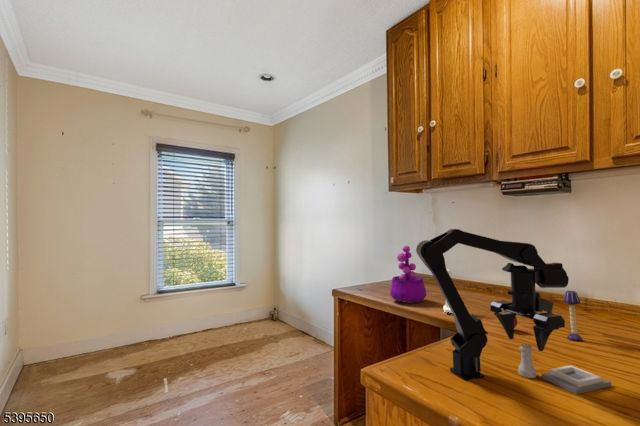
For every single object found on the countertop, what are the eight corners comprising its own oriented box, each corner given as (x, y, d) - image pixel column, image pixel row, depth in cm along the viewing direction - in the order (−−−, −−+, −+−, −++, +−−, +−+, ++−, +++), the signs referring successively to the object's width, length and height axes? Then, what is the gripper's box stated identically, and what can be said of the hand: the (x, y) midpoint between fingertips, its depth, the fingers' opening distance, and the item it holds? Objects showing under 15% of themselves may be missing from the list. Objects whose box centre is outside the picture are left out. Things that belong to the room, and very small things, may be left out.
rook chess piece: (519, 369, 93) (518, 341, 93) (538, 374, 90) (536, 344, 90) (516, 375, 89) (515, 346, 90) (536, 380, 87) (534, 349, 87)
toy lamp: (562, 337, 116) (560, 290, 116) (570, 335, 118) (568, 289, 118) (577, 342, 112) (575, 293, 112) (585, 340, 113) (583, 291, 114)
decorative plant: (408, 308, 161) (406, 247, 162) (383, 300, 177) (381, 245, 178) (434, 302, 171) (432, 245, 172) (408, 296, 187) (406, 243, 188)
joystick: (444, 308, 159) (442, 267, 160) (461, 309, 156) (459, 267, 156) (442, 314, 149) (440, 270, 150) (460, 315, 146) (458, 271, 146)
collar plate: (575, 394, 79) (575, 385, 79) (541, 377, 88) (541, 369, 88) (611, 385, 83) (610, 377, 83) (574, 370, 91) (574, 362, 91)
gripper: (579, 292, 84) (582, 353, 83) (517, 280, 102) (519, 330, 101) (546, 295, 81) (549, 359, 80) (488, 282, 98) (490, 335, 98)
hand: (525, 344), depth 90 cm, fingers open, 9 cm apart
